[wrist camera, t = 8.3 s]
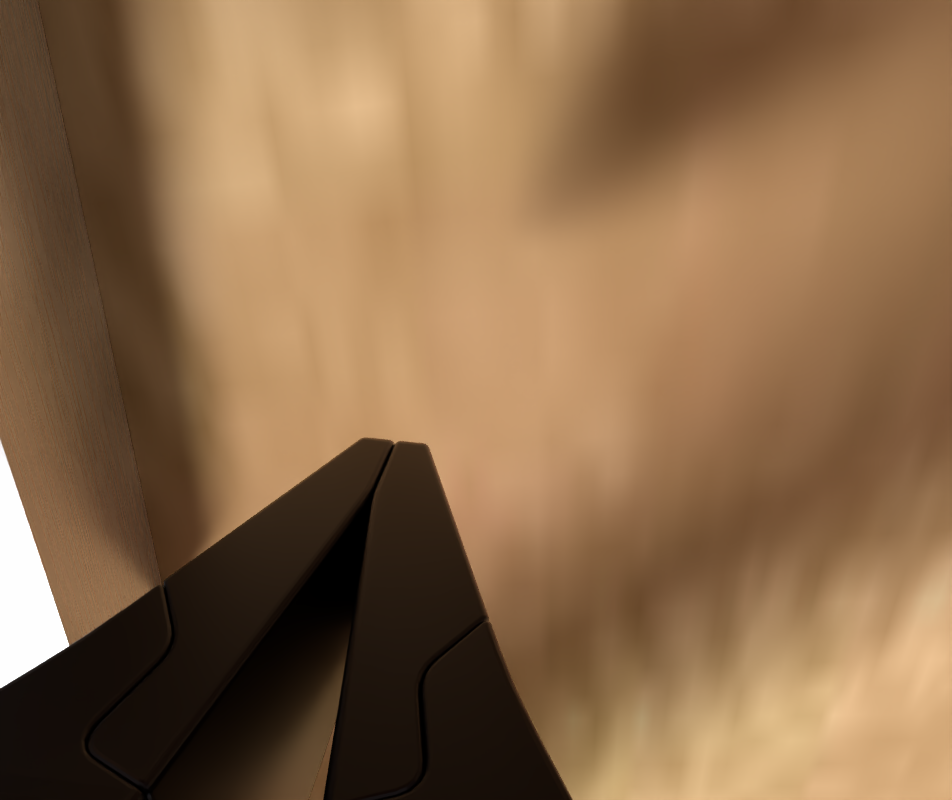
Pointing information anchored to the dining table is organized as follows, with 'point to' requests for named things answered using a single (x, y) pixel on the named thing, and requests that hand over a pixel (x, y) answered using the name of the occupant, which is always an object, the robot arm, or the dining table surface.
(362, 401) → the dining table surface
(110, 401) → the grey square frame
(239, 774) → the robot arm
